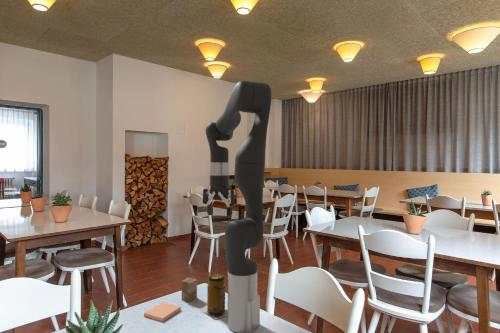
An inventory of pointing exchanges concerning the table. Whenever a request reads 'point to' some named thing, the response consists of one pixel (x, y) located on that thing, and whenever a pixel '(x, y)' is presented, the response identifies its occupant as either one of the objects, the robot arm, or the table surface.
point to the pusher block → (189, 289)
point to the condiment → (216, 297)
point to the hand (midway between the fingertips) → (219, 215)
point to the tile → (162, 311)
